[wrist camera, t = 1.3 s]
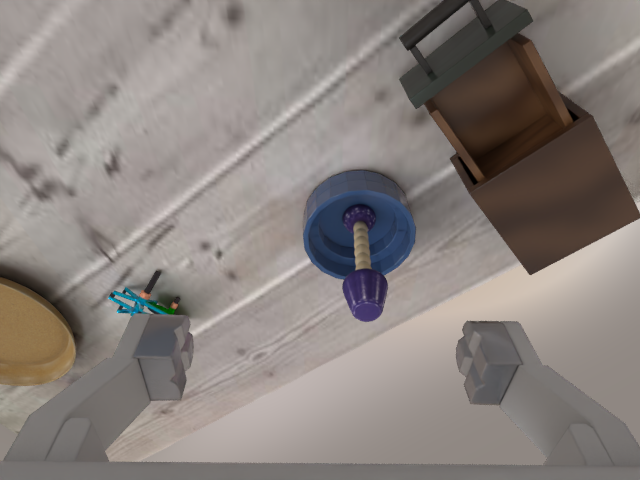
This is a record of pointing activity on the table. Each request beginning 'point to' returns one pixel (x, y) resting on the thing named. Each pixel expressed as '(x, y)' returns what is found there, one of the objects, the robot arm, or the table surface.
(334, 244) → the bowl
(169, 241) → the table surface
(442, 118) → the drawer
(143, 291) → the stick construction toy
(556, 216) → the cabinet
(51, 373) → the plant saucer
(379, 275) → the toy lamp
